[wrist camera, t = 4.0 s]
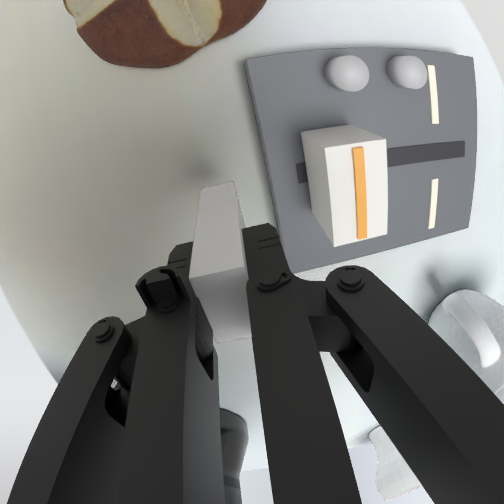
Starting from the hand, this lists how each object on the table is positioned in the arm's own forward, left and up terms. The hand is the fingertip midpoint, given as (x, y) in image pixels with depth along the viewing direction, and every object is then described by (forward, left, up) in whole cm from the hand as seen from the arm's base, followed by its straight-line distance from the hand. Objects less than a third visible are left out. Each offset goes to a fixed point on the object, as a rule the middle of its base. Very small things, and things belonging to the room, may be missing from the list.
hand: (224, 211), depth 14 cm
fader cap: (+6, 0, -3) cm, 7 cm away
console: (+11, 0, -6) cm, 12 cm away
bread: (0, +13, -6) cm, 14 cm away
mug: (+21, -19, -6) cm, 29 cm away
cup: (+18, -52, -6) cm, 55 cm away
